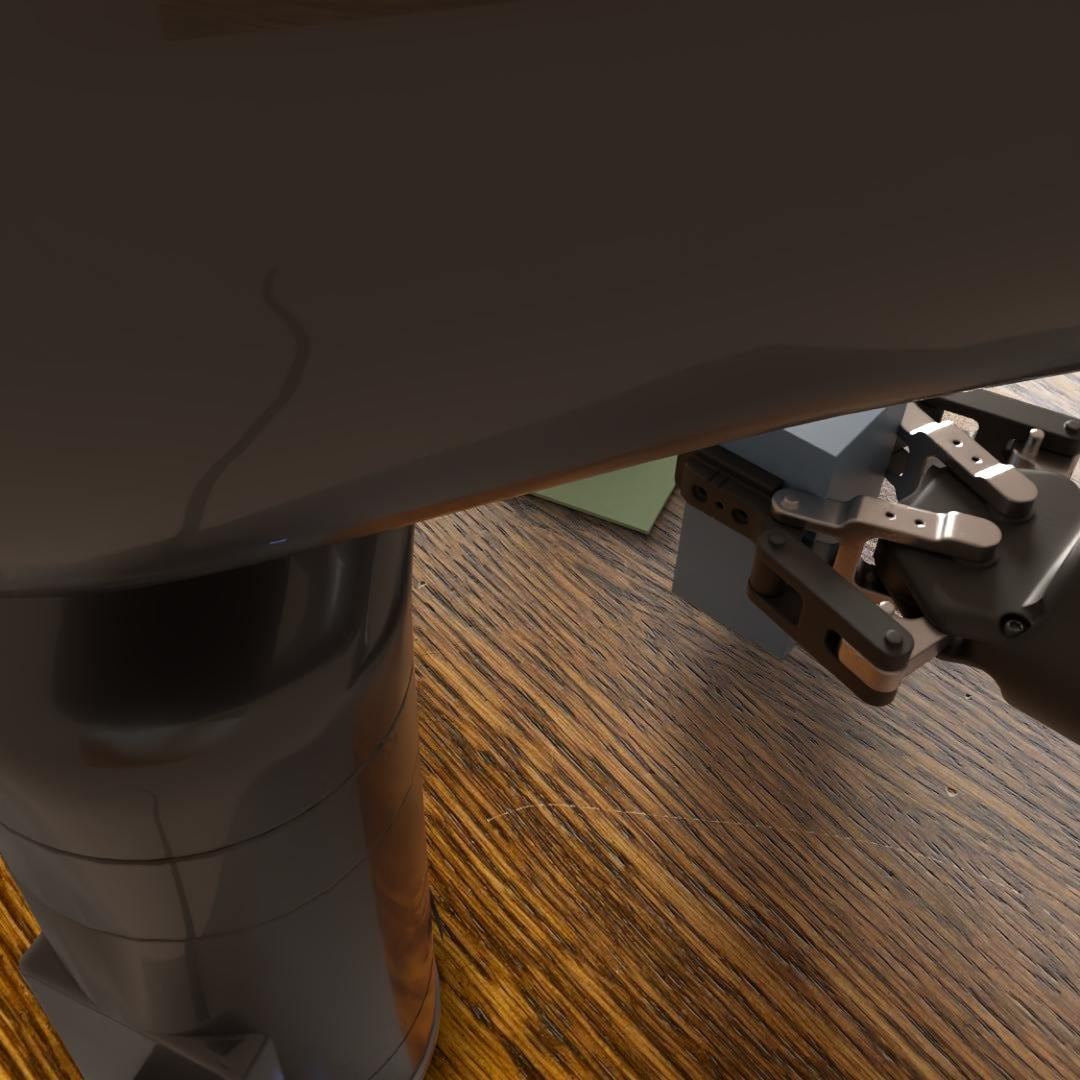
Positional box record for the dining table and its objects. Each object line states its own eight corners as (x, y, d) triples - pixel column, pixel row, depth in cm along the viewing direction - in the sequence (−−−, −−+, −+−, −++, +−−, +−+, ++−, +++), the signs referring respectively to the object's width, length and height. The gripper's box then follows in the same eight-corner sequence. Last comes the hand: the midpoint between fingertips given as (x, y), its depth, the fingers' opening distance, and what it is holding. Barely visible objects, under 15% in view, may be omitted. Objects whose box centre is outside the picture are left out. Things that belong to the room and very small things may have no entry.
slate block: (852, 583, 49) (915, 380, 42) (782, 660, 46) (836, 457, 39) (743, 522, 51) (785, 319, 44) (670, 592, 48) (702, 387, 41)
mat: (647, 534, 52) (648, 531, 52) (412, 453, 55) (412, 450, 55) (733, 382, 59) (734, 379, 59) (520, 317, 62) (520, 314, 62)
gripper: (1342, 454, 38) (853, 241, 46) (1165, 753, 31) (610, 440, 38) (1236, 614, 44) (815, 401, 51) (1063, 902, 36) (595, 603, 43)
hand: (730, 419), depth 45 cm, fingers closed on slate block, 5 cm apart
